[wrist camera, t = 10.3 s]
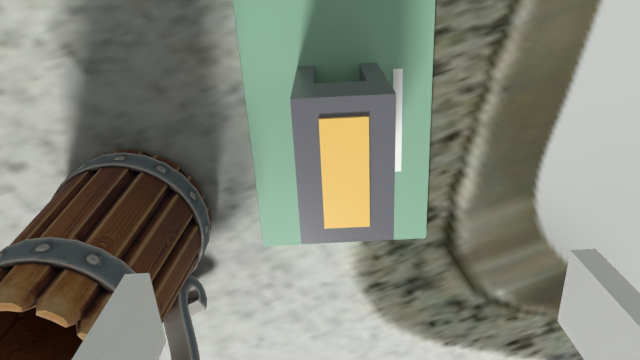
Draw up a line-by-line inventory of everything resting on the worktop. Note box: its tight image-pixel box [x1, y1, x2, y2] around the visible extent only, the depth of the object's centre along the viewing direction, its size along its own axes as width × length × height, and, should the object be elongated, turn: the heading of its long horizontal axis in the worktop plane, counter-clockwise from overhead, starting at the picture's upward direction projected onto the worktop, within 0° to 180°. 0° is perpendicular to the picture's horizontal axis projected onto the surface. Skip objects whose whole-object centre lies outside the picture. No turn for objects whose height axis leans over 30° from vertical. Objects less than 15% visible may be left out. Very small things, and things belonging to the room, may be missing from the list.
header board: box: [233, 0, 435, 246], centre depth 30 cm, size 12×18×5 cm, turn 3°
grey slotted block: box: [290, 63, 396, 244], centre depth 27 cm, size 5×8×8 cm, turn 3°
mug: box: [0, 150, 211, 360], centre depth 29 cm, size 16×11×15 cm
